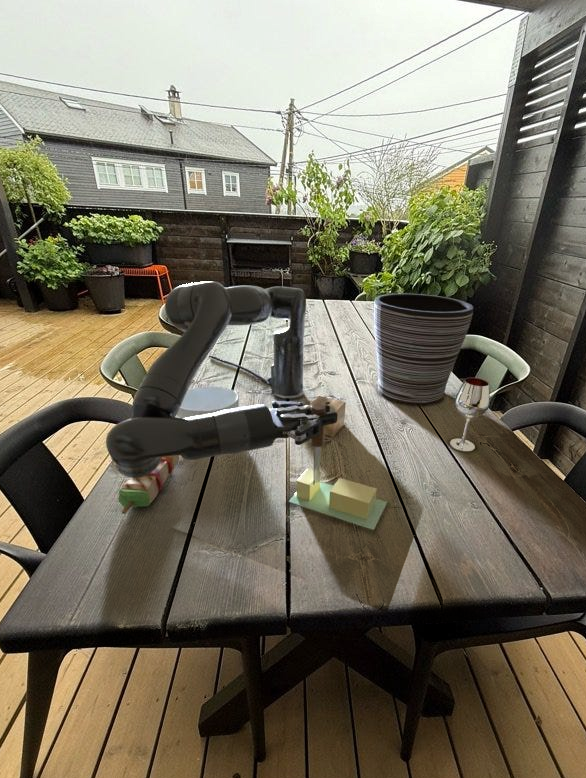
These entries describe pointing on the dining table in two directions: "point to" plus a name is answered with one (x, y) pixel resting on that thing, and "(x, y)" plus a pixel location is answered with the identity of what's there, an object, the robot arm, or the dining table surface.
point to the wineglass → (471, 407)
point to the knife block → (334, 406)
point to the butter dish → (324, 504)
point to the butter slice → (307, 485)
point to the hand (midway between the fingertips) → (332, 413)
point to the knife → (317, 442)
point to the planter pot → (418, 344)
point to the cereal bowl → (207, 401)
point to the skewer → (146, 485)
